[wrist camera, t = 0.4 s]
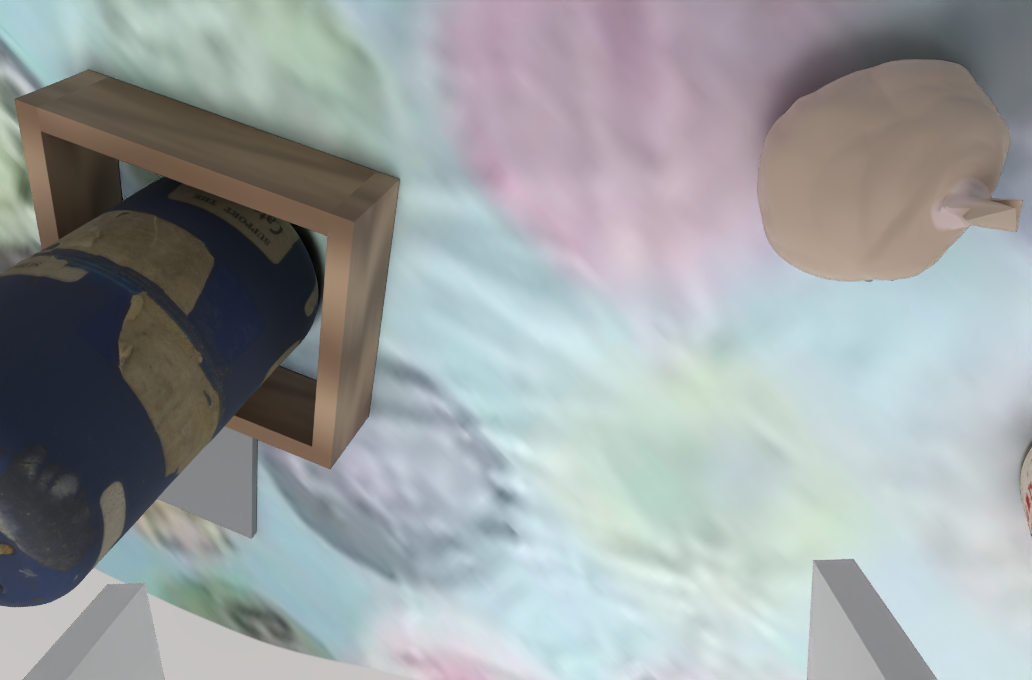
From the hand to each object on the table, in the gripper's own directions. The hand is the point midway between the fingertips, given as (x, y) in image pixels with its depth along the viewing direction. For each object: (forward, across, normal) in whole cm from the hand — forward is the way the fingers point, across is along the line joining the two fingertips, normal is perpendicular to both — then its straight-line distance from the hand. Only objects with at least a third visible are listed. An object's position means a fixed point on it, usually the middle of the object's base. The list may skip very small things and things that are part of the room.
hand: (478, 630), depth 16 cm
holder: (+23, -12, +4) cm, 27 cm away
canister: (+24, -12, +4) cm, 27 cm away
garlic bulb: (+14, +12, +8) cm, 20 cm away
